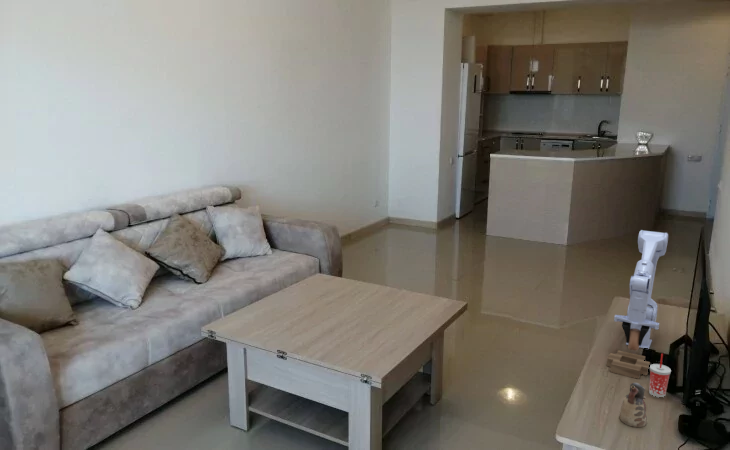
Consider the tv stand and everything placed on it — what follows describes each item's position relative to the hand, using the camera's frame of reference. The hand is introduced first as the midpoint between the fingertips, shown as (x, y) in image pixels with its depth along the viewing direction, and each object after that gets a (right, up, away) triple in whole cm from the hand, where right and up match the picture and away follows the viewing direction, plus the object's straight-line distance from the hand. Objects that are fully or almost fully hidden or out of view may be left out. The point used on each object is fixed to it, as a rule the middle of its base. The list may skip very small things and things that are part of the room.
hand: (633, 343), depth 205 cm
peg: (0, -2, 0) cm, 2 cm away
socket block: (-5, -7, -6) cm, 11 cm away
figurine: (-19, -15, -39) cm, 46 cm away
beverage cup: (-4, -11, -24) cm, 27 cm away
